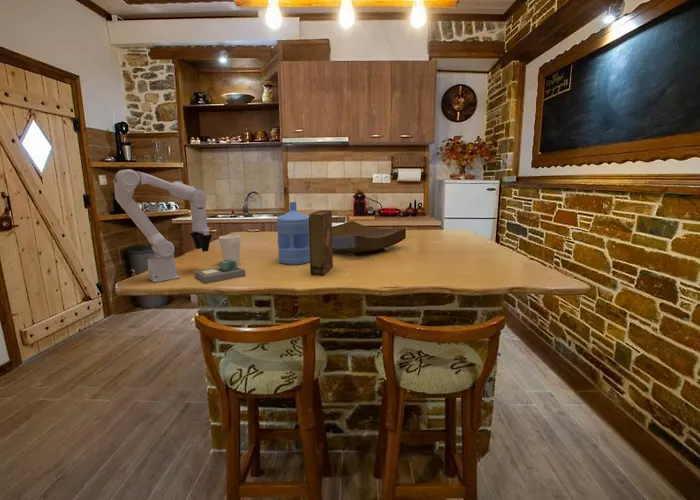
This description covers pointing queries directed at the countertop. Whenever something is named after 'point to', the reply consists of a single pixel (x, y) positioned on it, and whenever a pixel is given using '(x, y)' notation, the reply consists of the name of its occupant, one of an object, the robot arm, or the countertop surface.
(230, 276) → the frame
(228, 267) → the block
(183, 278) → the countertop surface
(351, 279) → the countertop surface
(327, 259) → the book
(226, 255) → the foam cup
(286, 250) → the water jug
